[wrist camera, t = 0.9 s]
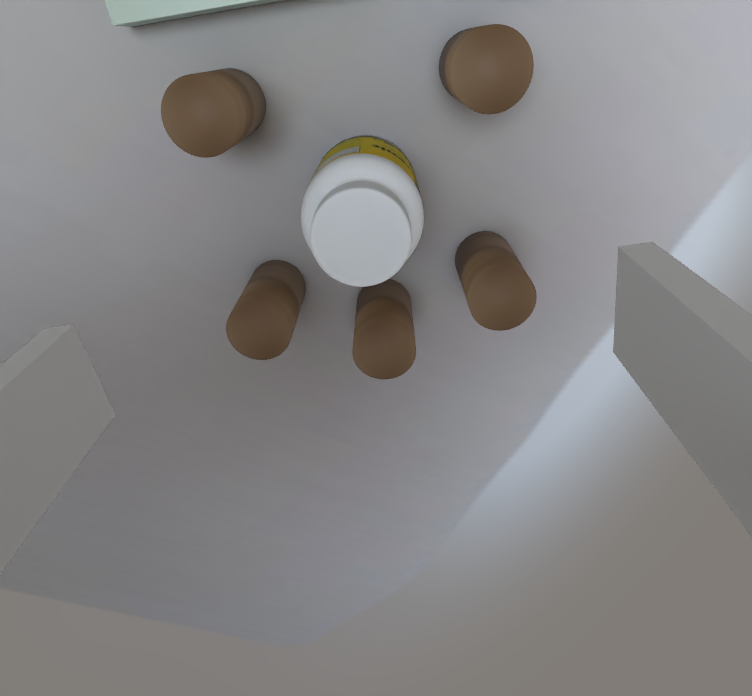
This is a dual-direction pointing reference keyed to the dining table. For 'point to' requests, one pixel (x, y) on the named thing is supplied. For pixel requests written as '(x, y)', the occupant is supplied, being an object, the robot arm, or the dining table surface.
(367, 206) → the supplement bottle
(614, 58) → the dining table surface
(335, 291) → the dining table surface
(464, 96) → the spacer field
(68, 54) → the dining table surface
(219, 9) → the tray
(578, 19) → the dining table surface
